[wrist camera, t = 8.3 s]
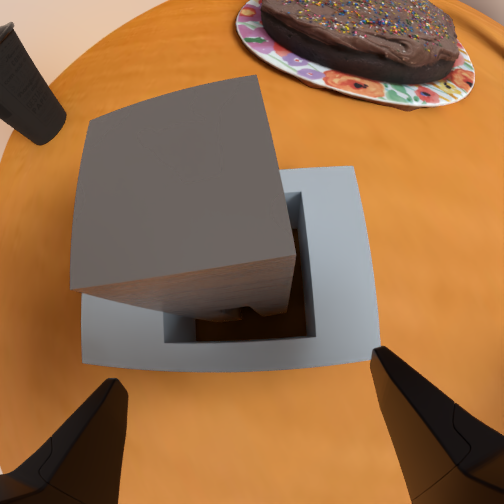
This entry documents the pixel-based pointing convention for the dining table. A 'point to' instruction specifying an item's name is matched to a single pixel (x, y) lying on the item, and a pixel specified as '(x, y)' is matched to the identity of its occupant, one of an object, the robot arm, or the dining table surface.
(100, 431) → the robot arm
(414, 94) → the chocolate cake
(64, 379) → the dining table surface
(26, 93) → the drinking cup
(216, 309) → the grey rectangular block
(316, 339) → the rectangular frame
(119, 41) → the dining table surface
